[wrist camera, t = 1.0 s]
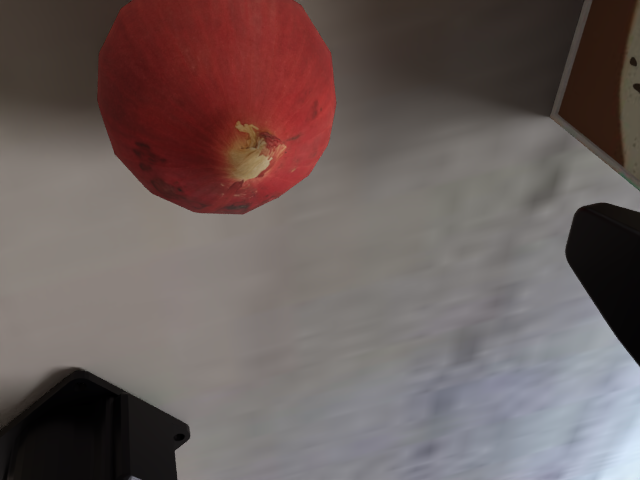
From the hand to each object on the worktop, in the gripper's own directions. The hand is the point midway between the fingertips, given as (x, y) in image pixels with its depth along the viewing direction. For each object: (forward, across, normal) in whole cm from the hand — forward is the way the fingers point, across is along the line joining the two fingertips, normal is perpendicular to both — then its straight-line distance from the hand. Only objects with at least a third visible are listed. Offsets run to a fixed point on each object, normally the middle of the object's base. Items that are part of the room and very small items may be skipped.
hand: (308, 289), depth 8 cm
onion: (+12, 0, 0) cm, 12 cm away
